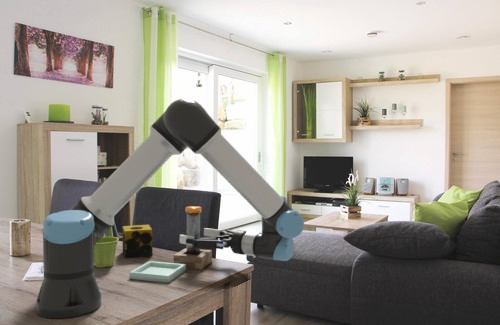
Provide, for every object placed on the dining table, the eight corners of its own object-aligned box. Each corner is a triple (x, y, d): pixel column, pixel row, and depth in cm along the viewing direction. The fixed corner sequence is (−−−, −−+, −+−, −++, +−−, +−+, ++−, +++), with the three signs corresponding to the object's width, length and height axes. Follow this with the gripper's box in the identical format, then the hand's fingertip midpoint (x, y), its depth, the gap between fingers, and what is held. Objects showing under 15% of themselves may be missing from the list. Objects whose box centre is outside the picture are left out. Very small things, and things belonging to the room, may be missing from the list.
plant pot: (109, 270, 140) (109, 243, 139) (83, 268, 142) (83, 242, 141) (123, 262, 149) (123, 237, 148) (98, 260, 151) (98, 236, 150)
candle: (149, 249, 167) (149, 224, 167) (153, 256, 158) (153, 229, 158) (122, 251, 164) (122, 225, 163) (124, 258, 154) (124, 230, 154)
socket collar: (201, 269, 142) (201, 257, 142) (173, 266, 144) (173, 255, 144) (211, 261, 152) (211, 250, 151) (185, 259, 154) (185, 248, 154)
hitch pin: (197, 266, 145) (198, 209, 144) (182, 265, 146) (183, 208, 145) (203, 262, 150) (203, 206, 149) (188, 261, 151) (189, 206, 150)
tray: (168, 282, 128) (168, 275, 128) (129, 278, 131) (129, 272, 131) (185, 270, 141) (185, 264, 140) (149, 267, 144) (149, 261, 144)
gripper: (224, 263, 127) (168, 253, 137) (264, 246, 149) (213, 239, 159) (225, 238, 127) (169, 230, 137) (264, 225, 148) (213, 219, 159)
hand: (192, 235), depth 148 cm, fingers open, 13 cm apart
